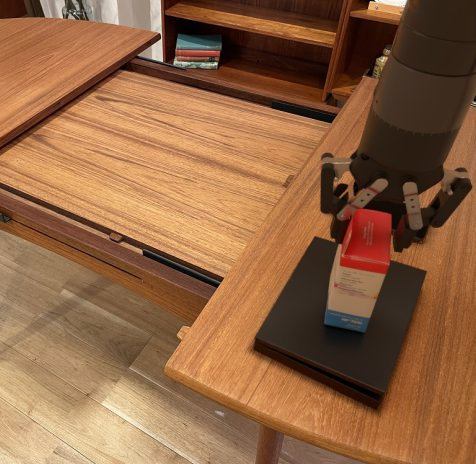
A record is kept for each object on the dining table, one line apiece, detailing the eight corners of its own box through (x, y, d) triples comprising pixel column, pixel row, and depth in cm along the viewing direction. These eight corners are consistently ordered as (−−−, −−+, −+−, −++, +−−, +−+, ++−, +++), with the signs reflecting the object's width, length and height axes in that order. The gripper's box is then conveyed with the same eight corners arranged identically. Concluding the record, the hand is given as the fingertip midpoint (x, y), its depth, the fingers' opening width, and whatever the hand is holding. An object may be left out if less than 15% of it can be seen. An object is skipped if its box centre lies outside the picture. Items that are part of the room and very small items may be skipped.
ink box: (365, 335, 59) (399, 244, 49) (322, 325, 60) (346, 235, 50) (368, 282, 65) (400, 192, 55) (329, 274, 66) (352, 184, 56)
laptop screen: (425, 275, 66) (427, 270, 66) (383, 397, 54) (385, 392, 54) (314, 240, 73) (314, 235, 72) (254, 341, 61) (254, 336, 60)
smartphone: (322, 210, 80) (422, 245, 74) (323, 206, 79) (424, 240, 73) (338, 184, 84) (433, 215, 78) (339, 180, 84) (435, 211, 78)
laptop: (418, 290, 68) (423, 281, 67) (376, 410, 56) (381, 402, 55) (311, 248, 74) (314, 239, 73) (252, 349, 62) (254, 341, 61)
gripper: (333, 121, 42) (299, 258, 54) (521, 139, 40) (442, 278, 52) (331, 78, 47) (301, 212, 59) (497, 92, 45) (431, 228, 57)
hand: (367, 242), depth 55 cm, fingers open, 5 cm apart
